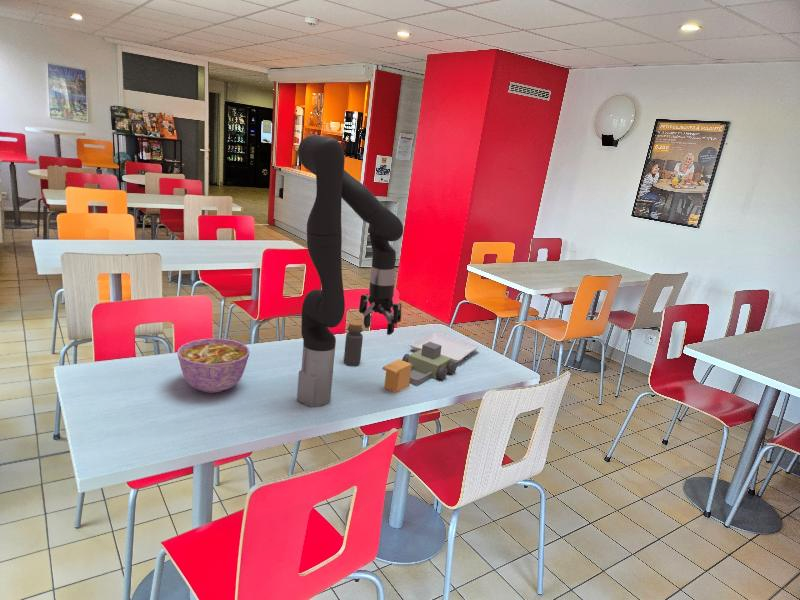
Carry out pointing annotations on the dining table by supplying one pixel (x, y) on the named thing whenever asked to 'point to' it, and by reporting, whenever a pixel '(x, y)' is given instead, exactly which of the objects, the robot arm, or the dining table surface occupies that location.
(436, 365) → the green boxy vehicle
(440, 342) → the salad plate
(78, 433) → the dining table surface
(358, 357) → the bottle
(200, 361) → the bowl of food
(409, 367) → the orange box
